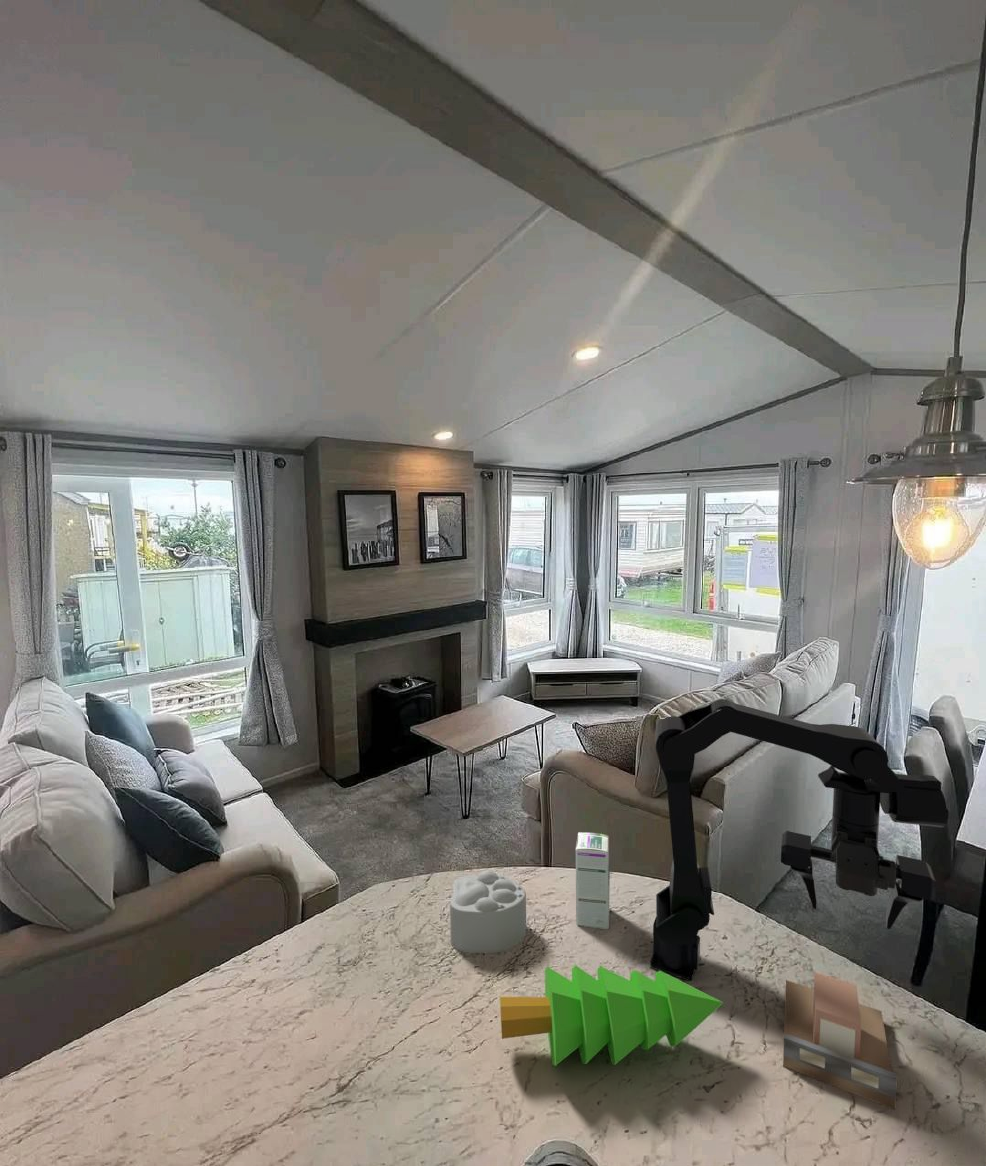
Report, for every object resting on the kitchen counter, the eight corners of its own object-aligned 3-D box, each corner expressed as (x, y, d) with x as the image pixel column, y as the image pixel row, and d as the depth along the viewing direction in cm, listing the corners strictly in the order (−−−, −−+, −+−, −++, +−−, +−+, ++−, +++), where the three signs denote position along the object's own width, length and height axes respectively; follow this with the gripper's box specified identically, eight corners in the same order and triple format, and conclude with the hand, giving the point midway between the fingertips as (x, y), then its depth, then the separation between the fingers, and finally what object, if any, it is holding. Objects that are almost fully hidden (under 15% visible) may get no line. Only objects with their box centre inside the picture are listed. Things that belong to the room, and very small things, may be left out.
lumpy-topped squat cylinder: (454, 911, 105) (453, 866, 104) (525, 911, 105) (525, 866, 104) (448, 953, 95) (447, 903, 94) (527, 953, 94) (527, 904, 94)
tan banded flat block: (782, 1067, 74) (784, 1039, 74) (785, 989, 87) (786, 964, 86) (895, 1111, 68) (897, 1080, 68) (880, 1020, 81) (882, 994, 81)
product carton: (812, 1011, 81) (814, 971, 80) (854, 1025, 78) (856, 985, 78) (813, 1052, 75) (815, 1010, 74) (858, 1069, 72) (861, 1025, 72)
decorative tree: (497, 950, 79) (714, 936, 79) (500, 995, 84) (702, 982, 84) (502, 1048, 69) (750, 1032, 69) (504, 1092, 74) (734, 1077, 74)
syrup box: (609, 930, 100) (610, 851, 98) (575, 926, 101) (575, 847, 99) (609, 909, 105) (610, 833, 104) (576, 905, 106) (577, 830, 105)
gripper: (780, 826, 81) (777, 930, 82) (947, 862, 72) (939, 978, 73) (784, 793, 90) (780, 887, 92) (931, 822, 81) (925, 925, 83)
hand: (850, 917), depth 85 cm, fingers open, 9 cm apart
